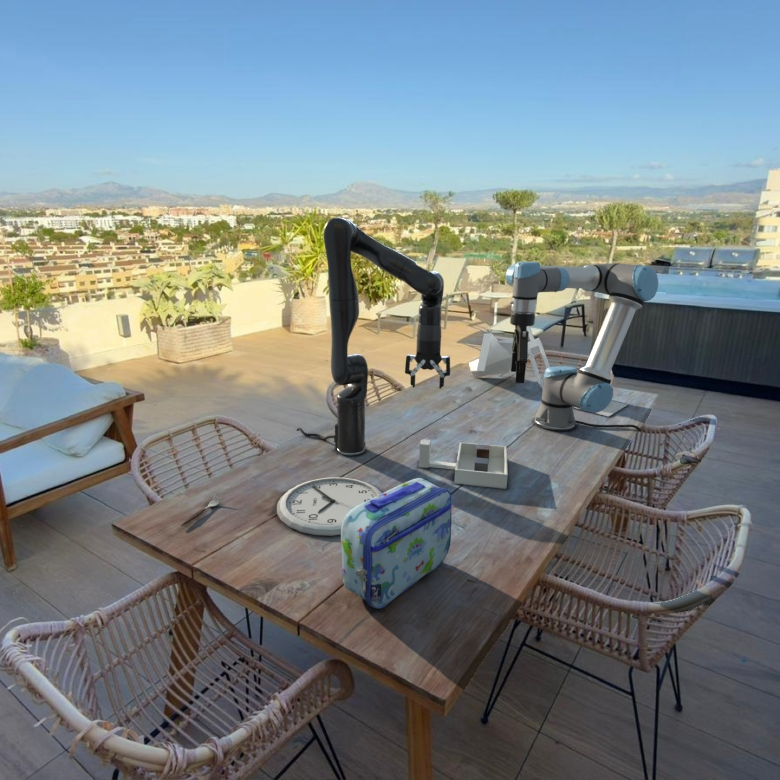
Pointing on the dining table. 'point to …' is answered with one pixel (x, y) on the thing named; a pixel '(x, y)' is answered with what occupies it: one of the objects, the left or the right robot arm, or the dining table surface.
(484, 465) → the charcoal block
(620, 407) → the invitation card
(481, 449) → the walnut block
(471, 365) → the white plastic object
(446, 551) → the lunch box
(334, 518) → the wall clock
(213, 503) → the fork
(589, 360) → the right robot arm
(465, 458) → the tray
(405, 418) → the dining table surface
